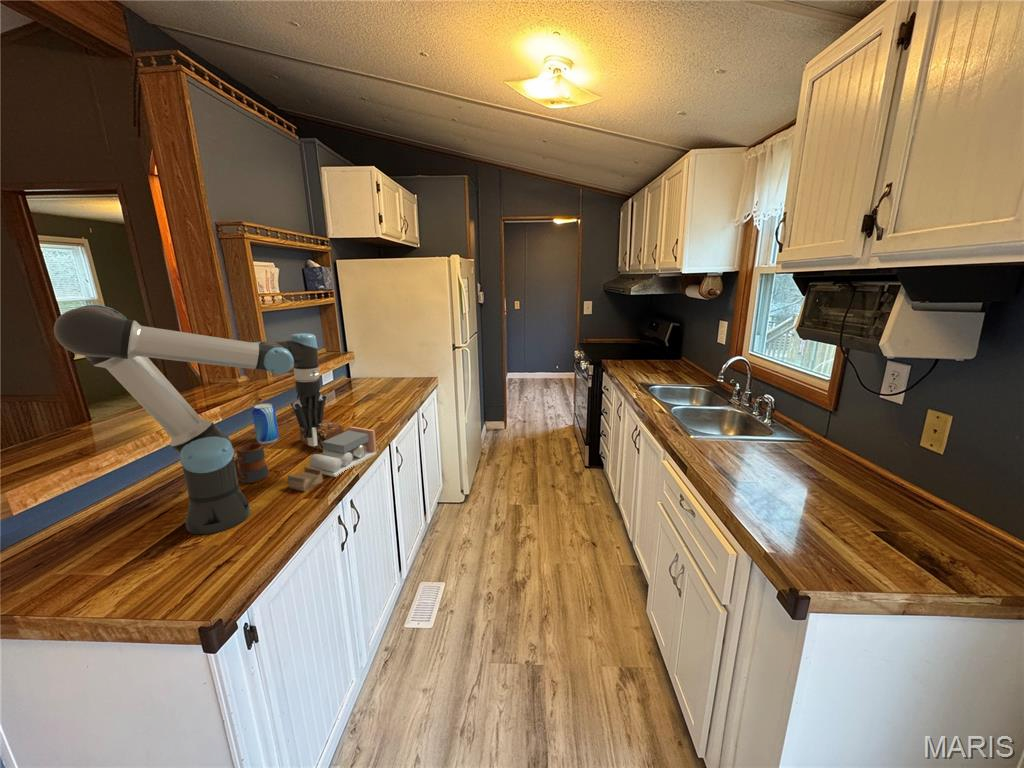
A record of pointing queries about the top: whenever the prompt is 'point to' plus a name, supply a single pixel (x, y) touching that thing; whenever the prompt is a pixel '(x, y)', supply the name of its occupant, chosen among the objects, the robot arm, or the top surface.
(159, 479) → the top surface
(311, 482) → the rack
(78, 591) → the top surface
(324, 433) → the bread
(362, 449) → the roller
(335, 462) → the roller bed
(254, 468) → the mug
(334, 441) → the slab
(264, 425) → the beer can
